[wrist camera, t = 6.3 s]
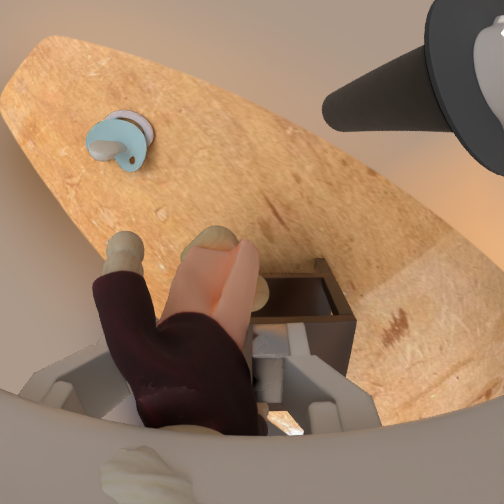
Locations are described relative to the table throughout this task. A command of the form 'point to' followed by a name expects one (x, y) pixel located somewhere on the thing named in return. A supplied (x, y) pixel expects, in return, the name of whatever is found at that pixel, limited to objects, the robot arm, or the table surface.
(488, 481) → the robot arm
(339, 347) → the rack
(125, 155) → the pacifier
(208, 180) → the table surface
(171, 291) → the grandmother figurine
